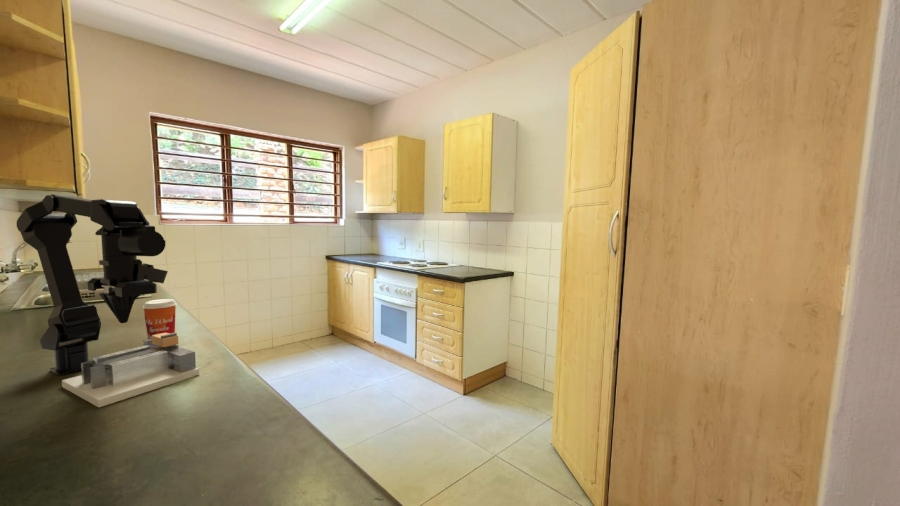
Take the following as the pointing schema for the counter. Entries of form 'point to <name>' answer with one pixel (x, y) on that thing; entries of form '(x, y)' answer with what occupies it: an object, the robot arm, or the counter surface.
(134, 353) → the grey lever
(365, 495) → the counter surface
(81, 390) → the board
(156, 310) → the paper cup
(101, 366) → the grey piece
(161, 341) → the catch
